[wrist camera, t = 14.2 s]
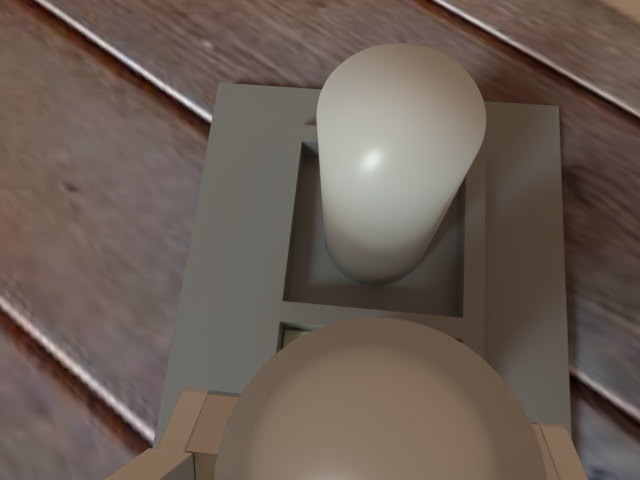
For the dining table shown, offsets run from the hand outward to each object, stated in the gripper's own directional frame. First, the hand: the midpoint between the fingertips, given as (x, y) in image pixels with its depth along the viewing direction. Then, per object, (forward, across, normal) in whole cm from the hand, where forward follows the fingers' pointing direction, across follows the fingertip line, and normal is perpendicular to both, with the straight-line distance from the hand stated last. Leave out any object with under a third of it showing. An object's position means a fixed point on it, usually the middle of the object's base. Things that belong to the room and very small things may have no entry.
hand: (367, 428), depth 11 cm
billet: (+4, 0, -5) cm, 6 cm away
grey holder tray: (+11, 0, -6) cm, 13 cm away
